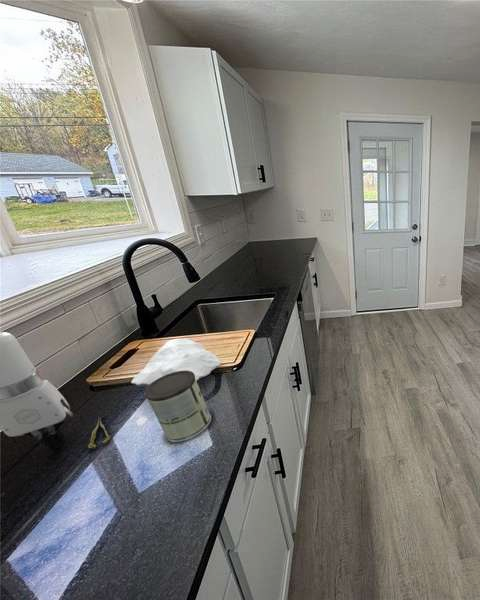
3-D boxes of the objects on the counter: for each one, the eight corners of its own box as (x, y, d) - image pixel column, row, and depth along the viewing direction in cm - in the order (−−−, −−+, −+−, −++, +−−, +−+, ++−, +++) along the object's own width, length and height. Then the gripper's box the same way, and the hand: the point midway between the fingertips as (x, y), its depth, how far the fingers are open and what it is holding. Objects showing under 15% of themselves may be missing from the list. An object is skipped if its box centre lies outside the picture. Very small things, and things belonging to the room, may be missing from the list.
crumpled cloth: (132, 419, 83) (124, 390, 80) (133, 363, 109) (128, 339, 106) (230, 391, 97) (226, 365, 94) (211, 347, 123) (207, 325, 120)
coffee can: (159, 431, 81) (137, 387, 75) (201, 407, 88) (184, 365, 82) (175, 449, 75) (153, 403, 69) (218, 422, 82) (201, 378, 77)
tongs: (106, 417, 87) (103, 411, 86) (113, 442, 79) (109, 437, 78) (86, 425, 84) (83, 420, 83) (91, 453, 76) (87, 447, 75)
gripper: (-43, 408, 64) (7, 470, 72) (54, 382, 71) (91, 441, 78) (-21, 388, 70) (24, 447, 78) (66, 365, 77) (100, 422, 84)
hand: (57, 444), depth 78 cm, fingers closed
